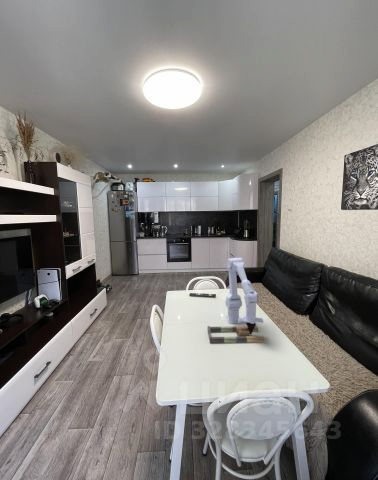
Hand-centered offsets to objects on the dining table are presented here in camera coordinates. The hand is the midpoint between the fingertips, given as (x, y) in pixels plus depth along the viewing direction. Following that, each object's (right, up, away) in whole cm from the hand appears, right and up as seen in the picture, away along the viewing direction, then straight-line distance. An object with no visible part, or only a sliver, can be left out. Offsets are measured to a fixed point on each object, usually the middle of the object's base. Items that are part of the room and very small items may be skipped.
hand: (250, 333), depth 128 cm
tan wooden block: (-5, -2, 0) cm, 5 cm away
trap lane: (-9, -2, 0) cm, 9 cm away
